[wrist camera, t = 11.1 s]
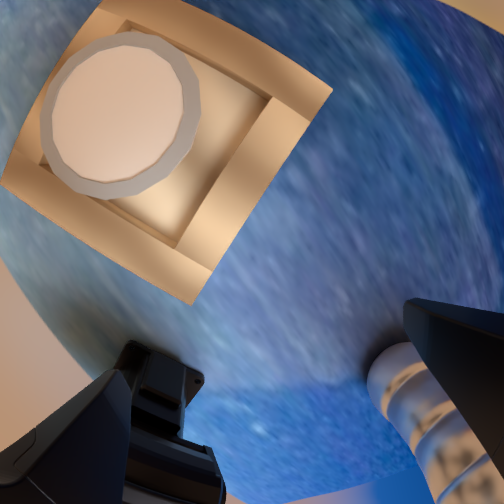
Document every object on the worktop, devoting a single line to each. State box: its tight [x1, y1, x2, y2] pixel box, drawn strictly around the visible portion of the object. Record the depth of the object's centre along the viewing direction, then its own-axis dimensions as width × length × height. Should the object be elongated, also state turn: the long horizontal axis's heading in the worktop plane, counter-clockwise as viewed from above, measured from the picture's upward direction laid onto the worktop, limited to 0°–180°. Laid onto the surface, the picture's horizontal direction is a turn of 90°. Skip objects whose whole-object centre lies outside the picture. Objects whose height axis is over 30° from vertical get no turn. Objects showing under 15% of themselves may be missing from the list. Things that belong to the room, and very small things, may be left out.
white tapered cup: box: [40, 31, 201, 200], centre depth 13 cm, size 7×7×7 cm
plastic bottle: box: [367, 342, 504, 504], centre depth 15 cm, size 6×7×20 cm
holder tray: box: [0, 0, 333, 306], centre depth 17 cm, size 15×15×2 cm
